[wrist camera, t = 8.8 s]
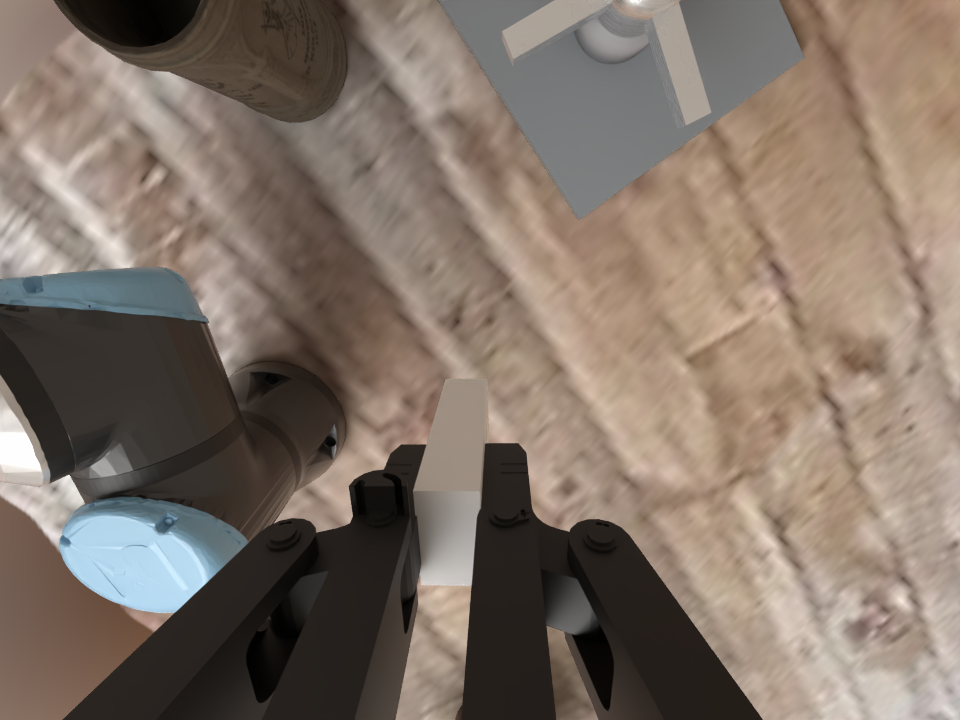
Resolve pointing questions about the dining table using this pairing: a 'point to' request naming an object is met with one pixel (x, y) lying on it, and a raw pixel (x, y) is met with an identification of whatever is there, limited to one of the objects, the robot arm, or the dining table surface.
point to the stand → (620, 86)
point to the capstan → (625, 13)
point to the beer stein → (228, 47)
